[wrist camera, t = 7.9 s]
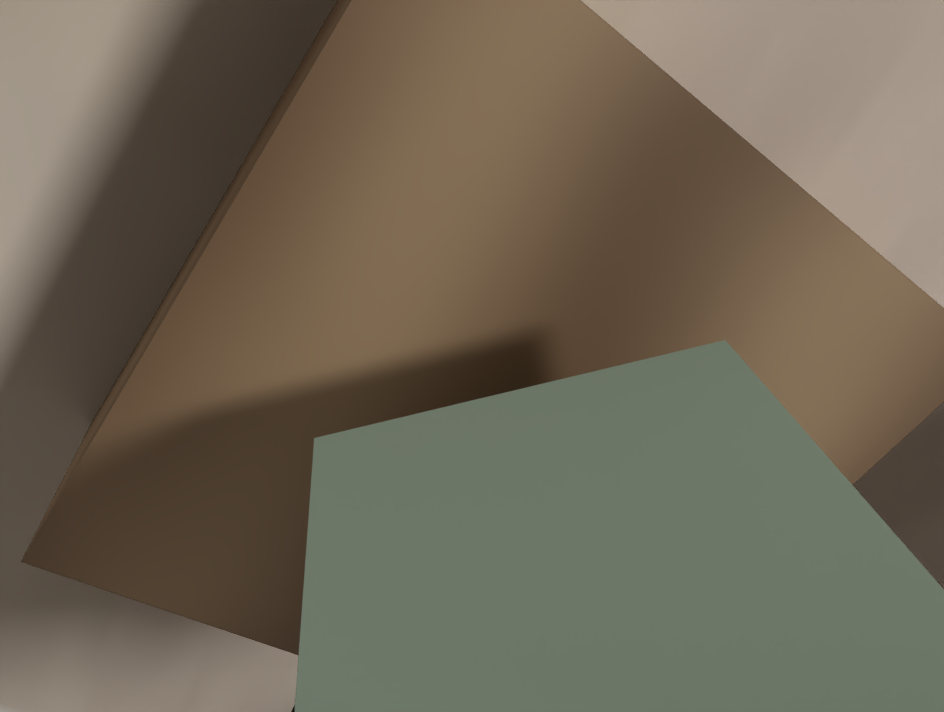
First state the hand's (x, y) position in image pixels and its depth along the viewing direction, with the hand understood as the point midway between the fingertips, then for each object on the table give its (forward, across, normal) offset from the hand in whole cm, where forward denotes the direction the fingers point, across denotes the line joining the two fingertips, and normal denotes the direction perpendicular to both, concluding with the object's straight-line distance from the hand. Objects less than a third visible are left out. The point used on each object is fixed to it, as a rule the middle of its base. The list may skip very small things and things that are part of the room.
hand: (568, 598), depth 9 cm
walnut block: (+7, 0, 0) cm, 7 cm away
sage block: (+1, 0, 0) cm, 1 cm away
